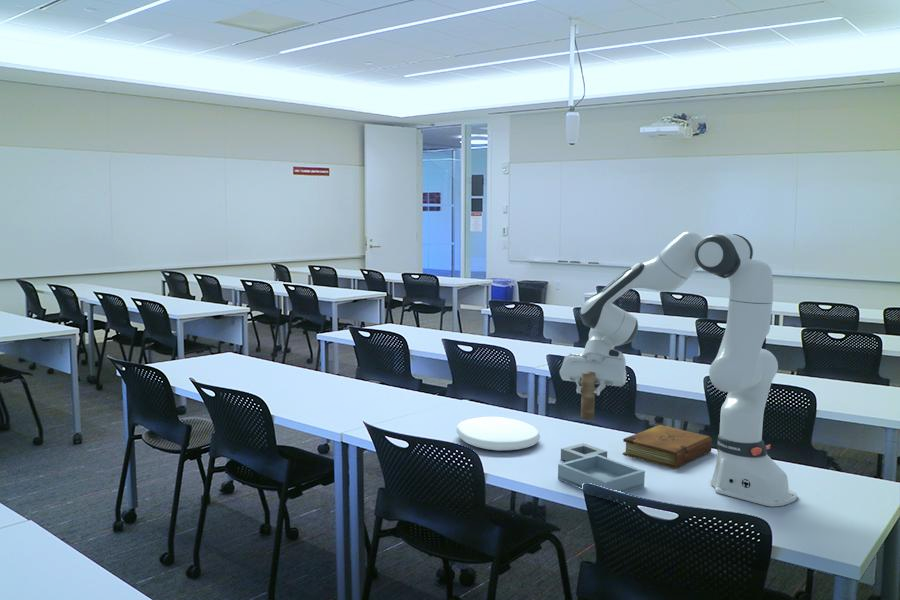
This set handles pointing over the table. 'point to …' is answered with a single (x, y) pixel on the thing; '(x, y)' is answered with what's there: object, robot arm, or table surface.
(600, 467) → the tray
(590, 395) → the dowel
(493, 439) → the plate
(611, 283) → the robot arm
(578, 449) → the socket block
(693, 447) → the diary
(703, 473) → the table surface
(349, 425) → the table surface
